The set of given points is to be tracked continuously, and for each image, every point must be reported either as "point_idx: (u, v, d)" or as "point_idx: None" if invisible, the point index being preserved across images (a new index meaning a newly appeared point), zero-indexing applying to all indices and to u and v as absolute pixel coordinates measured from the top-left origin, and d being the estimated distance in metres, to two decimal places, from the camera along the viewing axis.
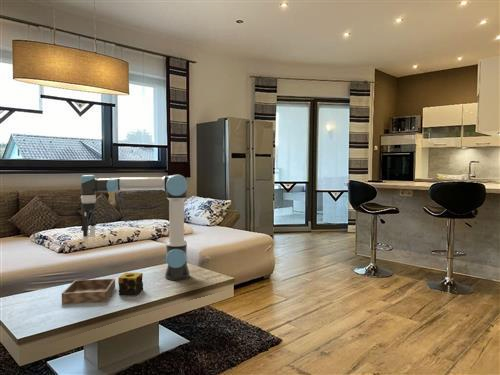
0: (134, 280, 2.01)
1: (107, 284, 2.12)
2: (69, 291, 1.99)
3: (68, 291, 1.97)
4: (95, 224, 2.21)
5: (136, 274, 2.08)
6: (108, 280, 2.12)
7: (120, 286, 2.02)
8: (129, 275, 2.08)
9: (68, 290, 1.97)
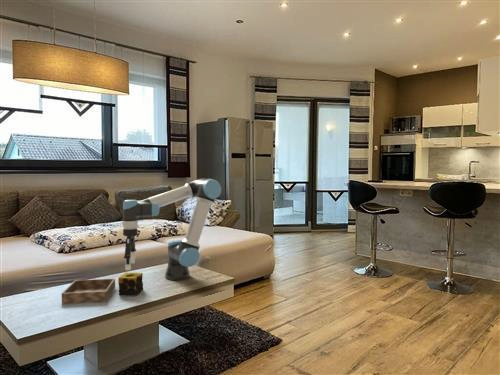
0: (134, 280, 2.01)
1: (107, 284, 2.12)
2: (69, 291, 1.99)
3: (68, 291, 1.97)
4: (135, 250, 2.13)
5: (136, 274, 2.08)
6: (108, 280, 2.12)
7: (120, 286, 2.02)
8: (129, 275, 2.08)
9: (68, 290, 1.97)
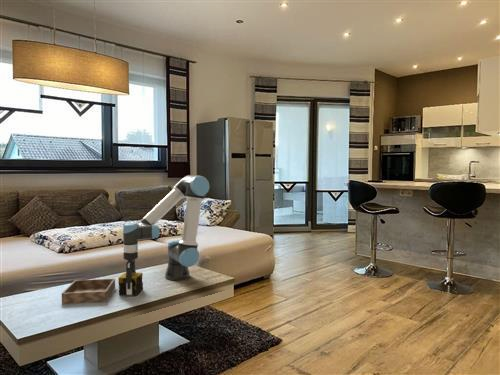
0: (134, 280, 2.01)
1: (107, 284, 2.12)
2: (69, 291, 1.99)
3: (68, 291, 1.97)
4: None
5: (136, 274, 2.08)
6: (108, 280, 2.12)
7: (120, 286, 2.02)
8: None
9: (68, 290, 1.97)
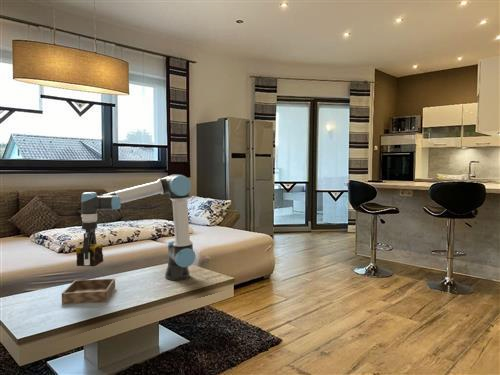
0: (92, 250, 1.95)
1: (107, 284, 2.12)
2: (69, 291, 1.99)
3: (68, 291, 1.97)
4: None
5: (95, 245, 2.01)
6: (108, 280, 2.12)
7: (78, 256, 1.96)
8: None
9: (68, 290, 1.97)
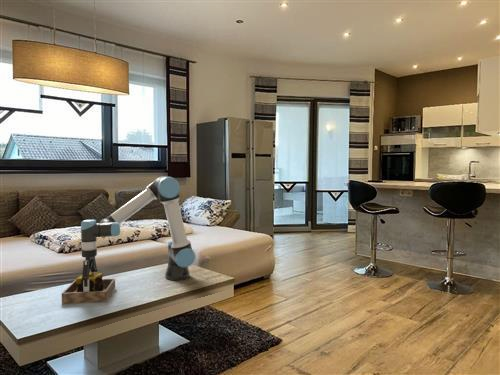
0: (93, 280, 1.96)
1: (107, 284, 2.12)
2: (69, 291, 1.99)
3: (68, 291, 1.97)
4: (96, 270, 2.09)
5: (95, 274, 2.03)
6: (108, 280, 2.12)
7: (78, 287, 1.97)
8: None
9: (68, 290, 1.97)
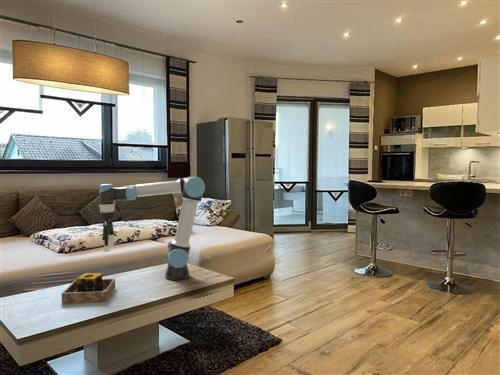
0: (93, 281, 1.96)
1: (107, 284, 2.12)
2: (69, 291, 1.99)
3: (68, 291, 1.97)
4: (113, 233, 2.20)
5: (95, 274, 2.03)
6: (108, 280, 2.12)
7: (78, 287, 1.97)
8: (88, 275, 2.03)
9: (68, 290, 1.97)
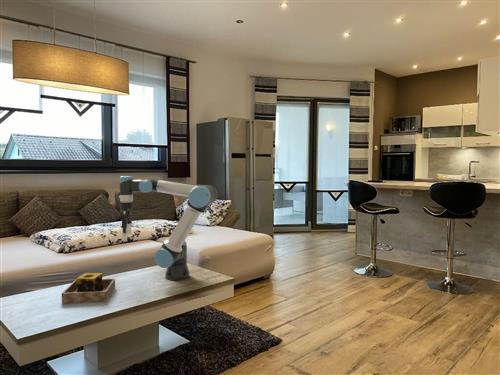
0: (93, 281, 1.96)
1: (107, 284, 2.12)
2: (69, 291, 1.99)
3: (68, 291, 1.97)
4: (131, 222, 2.35)
5: (95, 274, 2.03)
6: (108, 280, 2.12)
7: (78, 287, 1.97)
8: (88, 275, 2.03)
9: (68, 290, 1.97)
